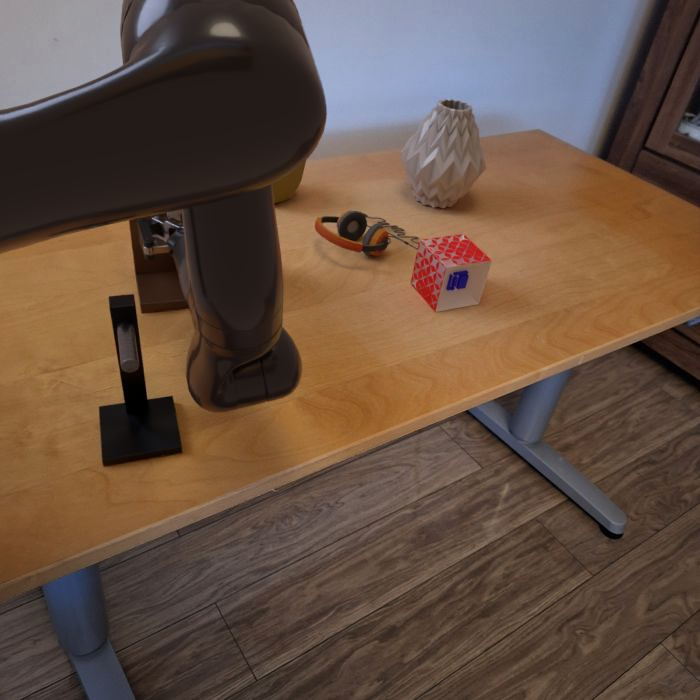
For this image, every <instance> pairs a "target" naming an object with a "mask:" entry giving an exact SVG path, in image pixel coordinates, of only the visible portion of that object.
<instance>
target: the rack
mask: <svg viewBox="0 0 700 700" xmlns="http://www.w3.org/2000/svg"><path fill="white" fill-rule="evenodd" d="M163 217H165V218H167V219H168V216H167V213H163ZM143 218H146V219H147V220H150V219H151V217H150V216H148V217H143ZM128 226H129V233H130V241H131V242H130V243H131V251H132V258H133V266H134V274H135V280H136V287H137V294H138V300H139V307H140V313H141V314H145V313H146V314H147V313H155V312H165V311H175V310H184V309H189V306H188V303H187V301H186V300H185V298H184V295H183V292H182V290H181V288H180V285H179V281H180V280H179V277H178V273H177V269H176V265H175V261H174V258H173V257H172V256H171V255H169V253H159V254H155V255H156V258H155V259H154V260H151V261H150V260H146V259H145V256H144V253H143V250H142V247H141V244H140V241H139V236H138V234H139V232H138V225H137V219H133V220H128ZM157 238H158V237H157ZM158 239H160V238H158ZM160 241H162V242H165V241H164V240H162V239H160Z"/></svg>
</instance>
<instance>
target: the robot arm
mask: <svg viewBox="0 0 700 700" xmlns="http://www.w3.org/2000/svg"><path fill="white" fill-rule="evenodd" d="M119 37H120V38H119V39H120V49H121V57H122V65H121V66H119V67H117V68H116V69H113V70H112V71H109V72H107V73H105V74H103V75H102V76H99V77H97V78H95V79H92V80H90V81H87V82H85V83H83V84H79V85H77V86H75V87H71V88H69V89H66V90H63V91H61V92H60V91H59V92H57V93H54V94H51V95H48V96H45V97H43V98H39V99H36V100H34V101H32V102H28V103H24V104H20V105H17V106H12V107H8V108H1V109H0V255H2V254H6V253H9V252H12V251H16V250H19V249H22V248H26V247H30V246H33V245H36V244H40V243H44V242H46V241H50V240H53V239H57V238H60V237H65V236H68V235H71V234H75V233H79V232H83V231H88V230H92V229H96V228H100V227H105V226H110V225H113V224H119V223H123V222H129V220H133V219H137V225H138V232H139V234H138V236H139V241H140V244H141V247H142V250H143V253H144V256H145V259H146V260H150V261H151V260H154V259H155V258H156V255H155V254H159V253H169V255H171V256H172V257H173V258H174V261H175V265H176V269H177V273H178V277H179V280H180V281H179V285H180V288H181V290H182V292H183V295H184V298H185V300H186V301H187V303H188V306H189V308H188V310H189V313H190V318H191V321H192V325H193V329H194V333H193V335H192V338H191V341H190V345H189V347H188V351H187V356H186V361H185V380H186V386H187V389H188V392H189V395H190V397H191V398H192V400H193V401H194V403H196V404H197V406H199V407H200V408H201V409H203V410H204V411H207V412H208V413H209V412H210V413H214V414H224V413H230V412H234V411H236V410H241V409H245V408H249V407H252V406H256V405H261V404H266V402H267V403H269V402H270V403H271V402H273V401H278V400H281V399H284V398H286V397H289V396H290V395H292V394H293V393H294V392H295V391H296V389H297V388H298V387H299V385H300V382H301V379H302V375H303V362H302V358H301V355H300V351H299V349H298V347H297V345H296V343H295V341H294V339H293V338H292V336H291V335H290V333H289V332H288V331H287V330H286V329H285V327H284V326H283V324H284V323H283V322H284V292H285V291H284V271H283V262H282V253H281V243H280V236H279V229H278V223H277V215H276V208H275V204H274V197H273V187H272V183H274V182H276V181H278V180H280V179H281V178H283V177H285V176H287V175H288V174H290V173H291V172H293V171H294V170H295V169H296V168H298V167H299V166H300V165H301V164H303V163H304V162H305V161H306V162H307V160H308V159H309V158H310V157H311V155H312V154H313V153H314V151H315V150H316V149H317V147H318V145H319V143H320V141H321V139H322V136H323V134H324V133H325V128H326V123H327V118H328V117H327V116H328V110H327V99H326V93H325V89H324V86H323V82H322V79H321V76H320V73H319V69H318V67H317V64H316V61H315V58H314V54H313V51H312V48H311V46H310V43H309V39H308V37H307V34H306V30H305V27H304V25H303V21H302V19H301V16H300V12H299V10H298V8H297V5H296V2H295V1H294V0H122V4H121V14H120V24H119ZM177 210H182V219H183V222H181V221H179V220H177V219H175V218H170V219H167V218H165V217H163V213H167V212H172V211H177ZM148 216H150V217H151V219H150V220H147V219H146V218H143V217H148ZM176 230H177V231H176ZM157 237H158V238H160V239H162V240H164V241H165V242H162V241H160V239H158V238H157Z"/></svg>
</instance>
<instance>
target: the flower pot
mask: <svg viewBox="0 0 700 700" xmlns="http://www.w3.org/2000/svg"><path fill="white" fill-rule="evenodd" d="M306 163H307V160H306V161H305V162H304V163H303V164H301V165H300V166H299V167H298V168H296V169H295V170H294V171H293V172H291V173H290V174H288V175H287V176H285V177H283V178H281V179H280V180H278V181H276V182H274V183H272V187H273V197H274V205H275V204H279V203H282V202H284V201H287V200H289V199H291V198H292V197H293V196H294V194H295V193H296V192H297V190H298V188H299V187H300V185H301V183H302V179H303V177H304V171H305V167H306Z"/></svg>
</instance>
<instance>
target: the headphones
mask: <svg viewBox="0 0 700 700" xmlns="http://www.w3.org/2000/svg"><path fill="white" fill-rule="evenodd" d="M367 219H372V220H382V221H377V222H376V223H374V224H372V225H368V220H367ZM327 223H328V224H329V223H330V224H336V228H337V229H336V230H337V233H338V234H336V233H335V232H333V231H331V230H330V229H329V228H327V227H326V226H325V225H324V224H327ZM367 228H368V229H367ZM385 228H390V229H392V230H393V231H392V232H393V233H394V234H393V233H391V232H389V231H387V230H386V229H385ZM314 230H315V231H316V233H317V234H318V235H319V236H320V237H322V238H323V239H325V241H328V242H329V243H331V244H333V245H335V246H337V247H340V248H342V249H345V250H348V251H351V252H355V253H362V252H363V253H364V254H365V255H367V256H371V255H372V256H380V254H382V252H383V253H384V251H386V250H387V249H388V247H389V245H390V244H391V243H392V241H391V238H393V239H396V240H399V241H401V242H402V243H404V244H405V245H407V246H409V247H411V248H413V249H415V250H418V247H416V246H414V245H412V244H410V243H409V241H406V240H404V239H405V238H406V239H407V238H408V239H410V241H411V242H412V243H414V244H417V245H419V242H418V241H414V240H418V239H419V236H414V235H413V236H412V235H411V236H410V235H409V236H405V235H406V232H404V231H405V228H403V227H399V226H398V225H395V224H394V225H390V223H389V222H387V220H386V219H384V218H382V217H371V216H368V214H366V213H365V212H362V211H358V210H346V211H344V212H342V213H341V214H340V216H333V215H323V216H317V217H316V219H315V221H314ZM366 230H367V231H366ZM395 234H396V235H395ZM363 235H364V236H363ZM361 237H363V239H362V242H358V241H357V240H359V239H360V238H361ZM403 238H404V239H403Z"/></svg>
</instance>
